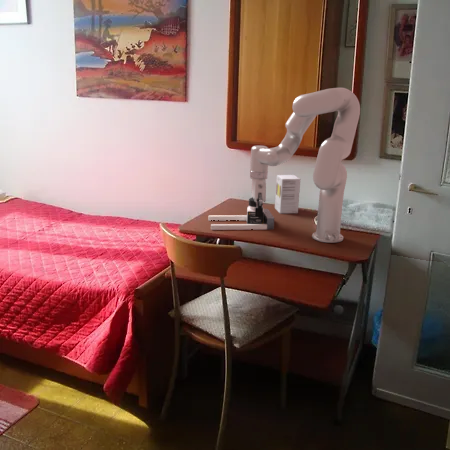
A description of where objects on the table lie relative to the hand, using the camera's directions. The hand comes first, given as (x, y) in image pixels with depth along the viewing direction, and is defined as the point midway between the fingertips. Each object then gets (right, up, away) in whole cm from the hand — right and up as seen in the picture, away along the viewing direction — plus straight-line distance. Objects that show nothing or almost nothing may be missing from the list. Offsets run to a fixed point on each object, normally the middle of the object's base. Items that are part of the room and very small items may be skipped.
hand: (257, 213), depth 235 cm
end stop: (+5, -5, +2) cm, 7 cm away
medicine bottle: (-1, -5, +1) cm, 5 cm away
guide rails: (-9, -5, +1) cm, 10 cm away
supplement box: (+16, +2, +25) cm, 29 cm away
